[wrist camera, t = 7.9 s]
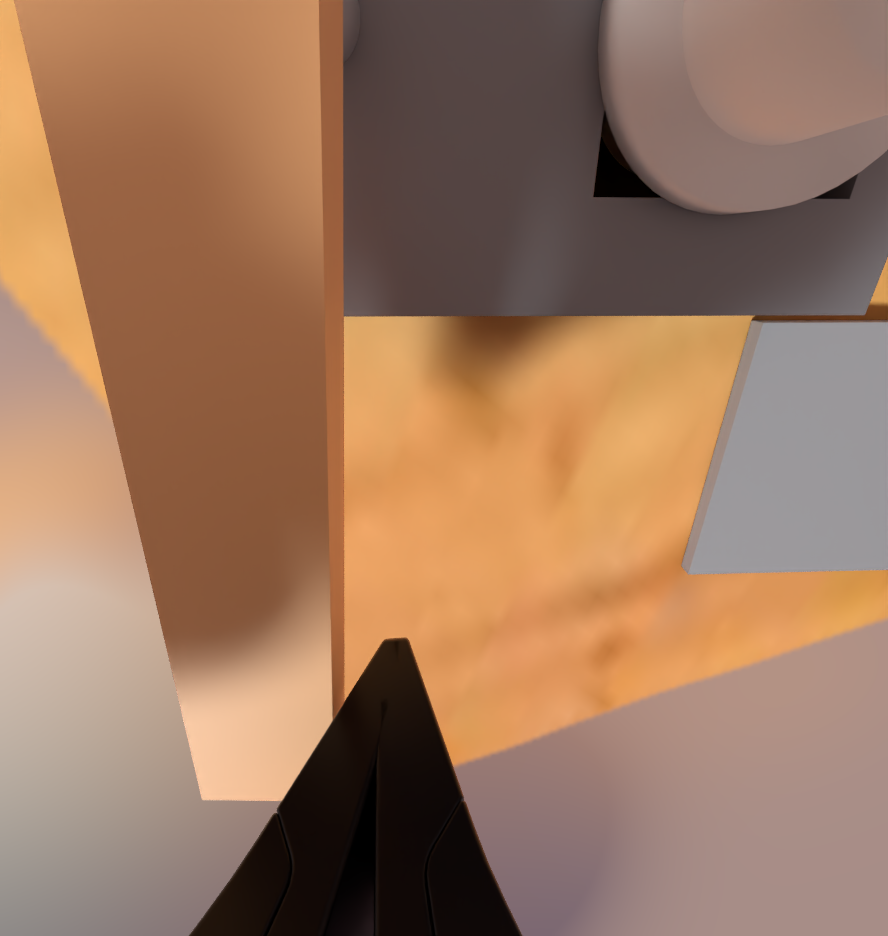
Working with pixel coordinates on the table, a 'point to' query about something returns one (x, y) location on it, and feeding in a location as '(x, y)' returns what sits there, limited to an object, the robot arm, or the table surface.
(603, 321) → the table surface
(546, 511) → the table surface
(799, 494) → the mat
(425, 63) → the socket base
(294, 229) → the light orange flat bar
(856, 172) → the plug
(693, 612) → the table surface
